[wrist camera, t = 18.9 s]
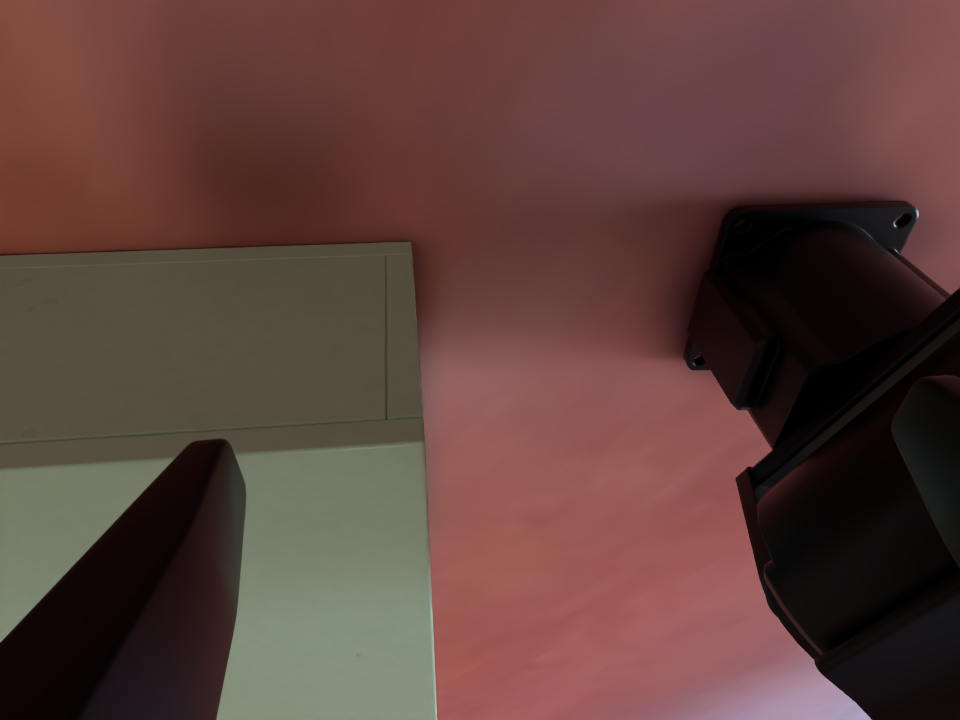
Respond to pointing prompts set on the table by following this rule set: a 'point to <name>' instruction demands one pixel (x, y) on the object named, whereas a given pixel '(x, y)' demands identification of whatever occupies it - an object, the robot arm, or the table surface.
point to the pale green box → (236, 450)
